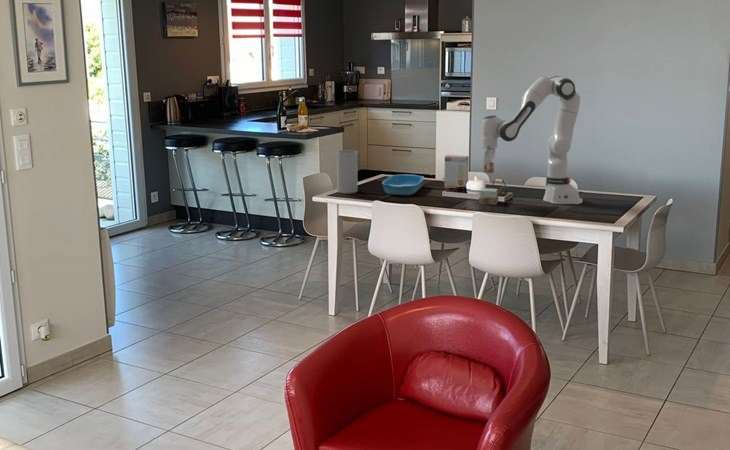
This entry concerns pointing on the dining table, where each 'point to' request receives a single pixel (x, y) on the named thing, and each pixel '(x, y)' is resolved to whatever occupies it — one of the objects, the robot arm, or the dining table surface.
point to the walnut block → (488, 201)
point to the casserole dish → (403, 184)
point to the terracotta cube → (489, 169)
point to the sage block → (488, 193)
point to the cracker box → (456, 171)
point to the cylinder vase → (347, 171)
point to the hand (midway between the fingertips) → (489, 168)
